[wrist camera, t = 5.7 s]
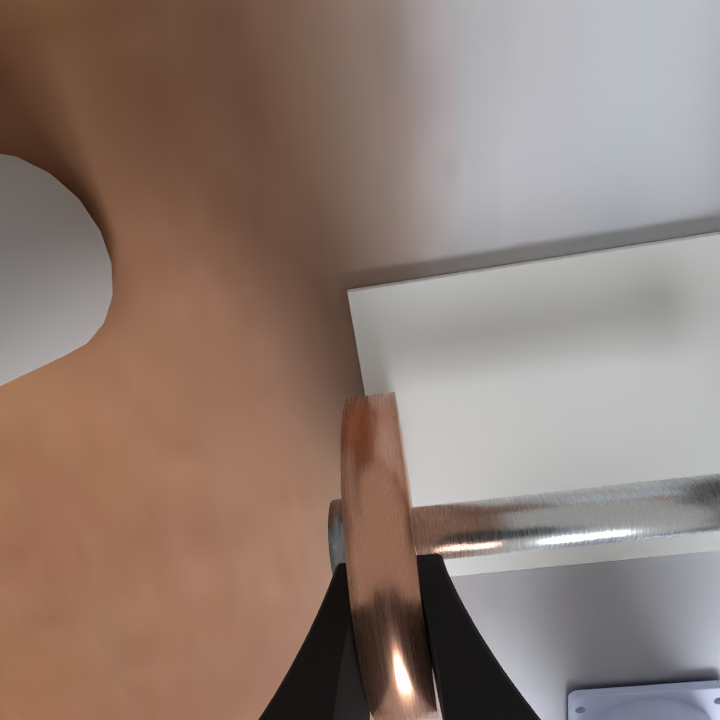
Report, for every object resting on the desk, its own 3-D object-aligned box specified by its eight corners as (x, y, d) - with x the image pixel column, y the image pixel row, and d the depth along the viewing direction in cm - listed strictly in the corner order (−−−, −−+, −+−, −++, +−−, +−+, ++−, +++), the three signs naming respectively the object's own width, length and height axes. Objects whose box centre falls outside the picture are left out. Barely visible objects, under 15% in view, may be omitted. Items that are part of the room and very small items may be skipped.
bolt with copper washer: (726, 511, 18) (1033, 778, 10) (363, 548, 19) (353, 812, 11) (754, 302, 15) (1230, 420, 7) (325, 363, 17) (273, 526, 8)
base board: (987, 513, 19) (1006, 523, 18) (396, 571, 21) (397, 581, 21) (1117, 169, 14) (1147, 167, 14) (348, 289, 17) (347, 292, 16)
